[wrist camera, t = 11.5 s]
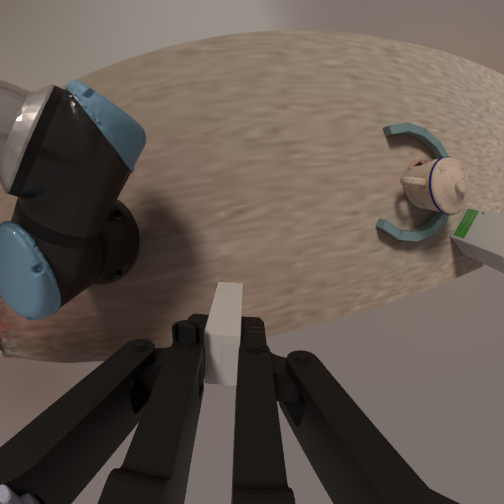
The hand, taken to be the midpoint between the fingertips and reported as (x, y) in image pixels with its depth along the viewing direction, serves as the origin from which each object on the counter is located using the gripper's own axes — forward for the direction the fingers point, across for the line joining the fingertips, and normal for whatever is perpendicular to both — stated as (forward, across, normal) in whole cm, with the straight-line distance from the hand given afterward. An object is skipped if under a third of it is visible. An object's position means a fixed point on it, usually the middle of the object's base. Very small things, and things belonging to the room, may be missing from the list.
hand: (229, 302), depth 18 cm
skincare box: (+27, +45, +5) cm, 53 cm away
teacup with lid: (+27, +30, +12) cm, 42 cm away
